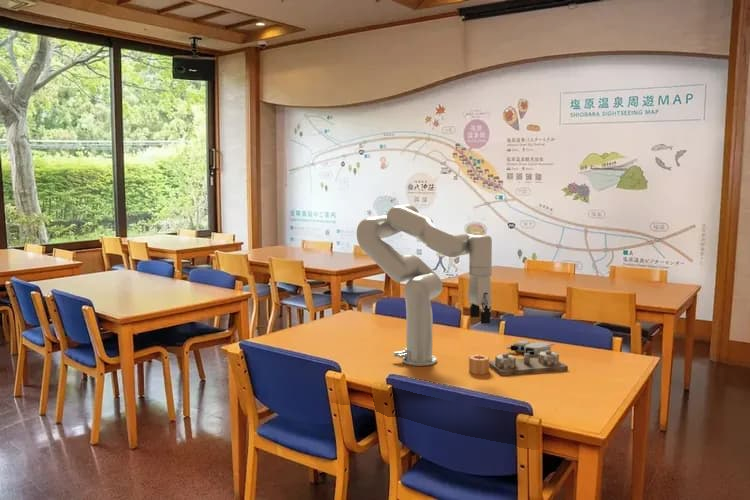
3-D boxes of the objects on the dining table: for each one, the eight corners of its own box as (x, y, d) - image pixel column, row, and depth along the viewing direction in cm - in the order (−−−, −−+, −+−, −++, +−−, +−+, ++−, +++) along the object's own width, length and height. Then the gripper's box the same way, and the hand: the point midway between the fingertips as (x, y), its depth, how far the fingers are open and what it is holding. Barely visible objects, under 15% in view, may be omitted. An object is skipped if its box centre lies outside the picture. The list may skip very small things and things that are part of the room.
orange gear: (473, 375, 211) (473, 361, 210) (466, 369, 217) (466, 355, 217) (492, 373, 212) (492, 359, 212) (484, 367, 219) (484, 353, 218)
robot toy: (504, 355, 237) (538, 360, 226) (504, 343, 237) (537, 348, 226) (523, 349, 245) (556, 354, 234) (522, 337, 245) (556, 342, 234)
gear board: (500, 375, 210) (500, 359, 209) (487, 365, 222) (487, 350, 221) (567, 370, 215) (568, 355, 214) (551, 360, 227) (551, 345, 226)
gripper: (461, 268, 218) (461, 315, 220) (479, 275, 201) (479, 326, 203) (481, 267, 220) (480, 314, 222) (500, 274, 203) (500, 325, 205)
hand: (480, 320), depth 213 cm, fingers open, 9 cm apart
